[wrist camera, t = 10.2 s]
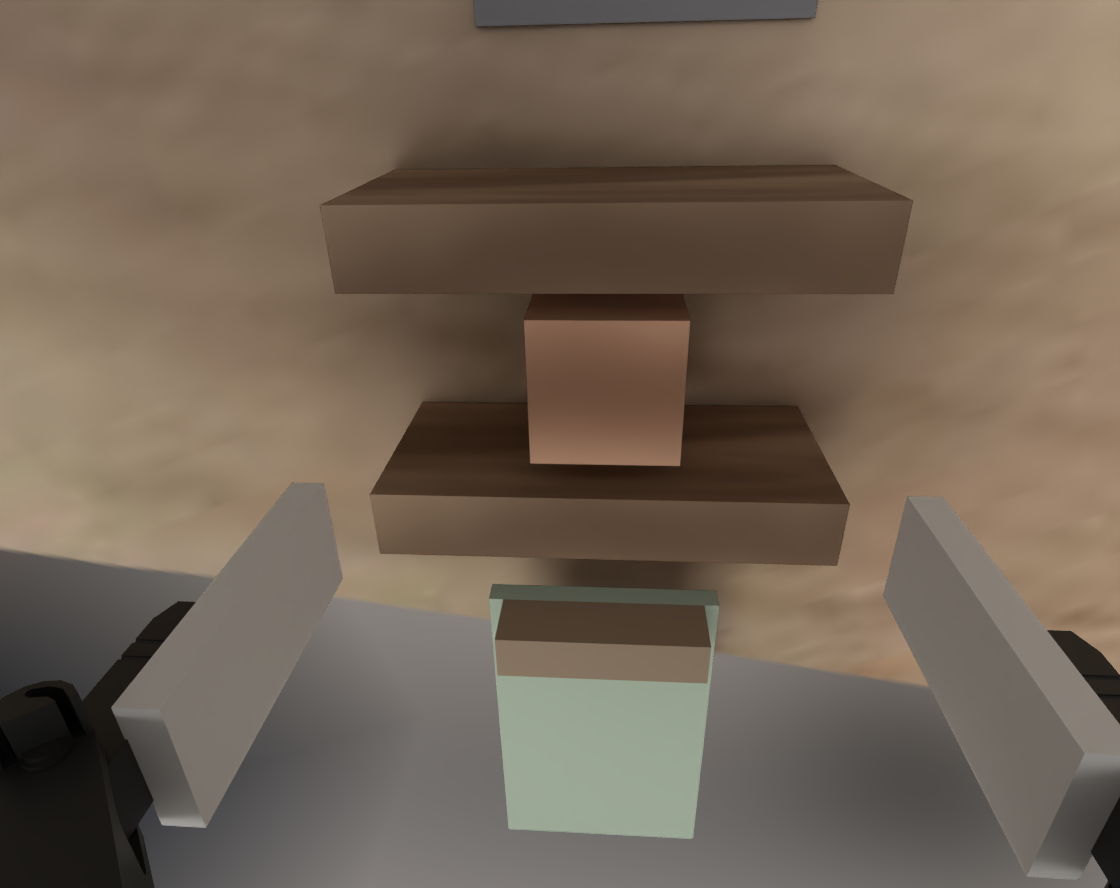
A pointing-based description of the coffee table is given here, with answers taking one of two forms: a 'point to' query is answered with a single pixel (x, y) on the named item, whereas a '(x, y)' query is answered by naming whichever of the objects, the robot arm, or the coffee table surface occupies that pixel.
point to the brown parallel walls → (615, 268)
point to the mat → (634, 11)
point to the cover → (602, 705)
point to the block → (606, 378)
